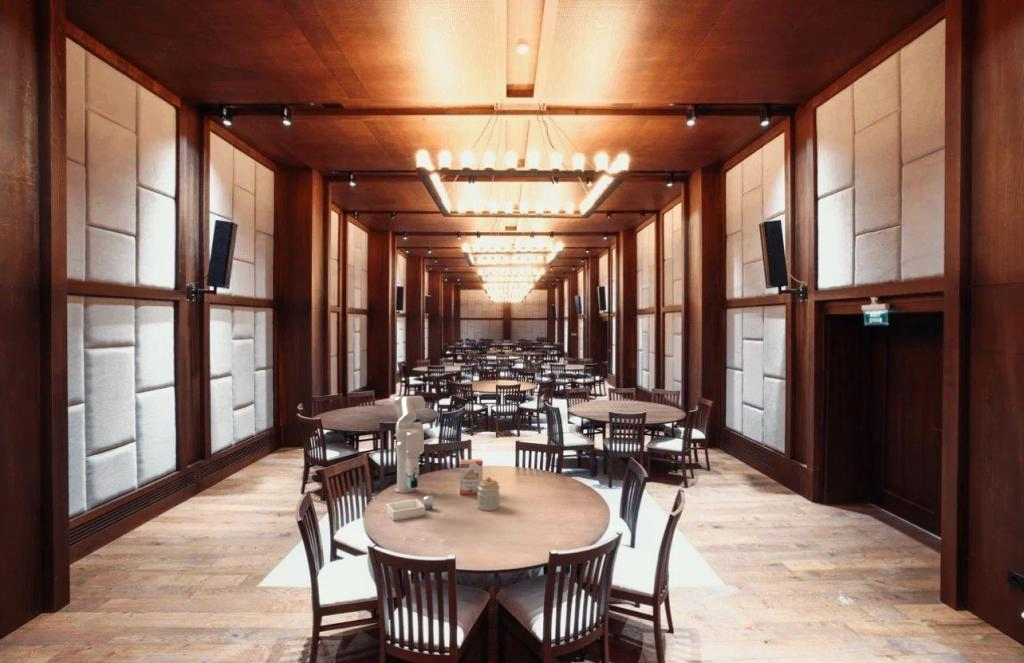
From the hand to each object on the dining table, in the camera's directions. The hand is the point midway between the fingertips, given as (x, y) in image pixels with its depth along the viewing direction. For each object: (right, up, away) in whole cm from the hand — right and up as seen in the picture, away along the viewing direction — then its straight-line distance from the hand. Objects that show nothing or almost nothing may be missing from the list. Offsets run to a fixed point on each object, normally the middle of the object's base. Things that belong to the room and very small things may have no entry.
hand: (412, 485), depth 298 cm
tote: (-4, -15, -2) cm, 16 cm away
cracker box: (+30, -15, +35) cm, 48 cm away
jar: (+42, -16, +11) cm, 46 cm away
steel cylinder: (+8, -15, +7) cm, 18 cm away
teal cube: (0, -1, 0) cm, 1 cm away
